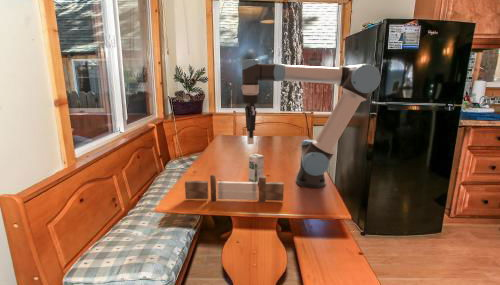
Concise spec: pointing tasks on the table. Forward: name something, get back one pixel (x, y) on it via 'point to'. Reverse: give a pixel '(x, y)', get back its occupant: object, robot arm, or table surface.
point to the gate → (237, 190)
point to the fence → (200, 189)
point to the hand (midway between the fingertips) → (250, 143)
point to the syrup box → (255, 167)
